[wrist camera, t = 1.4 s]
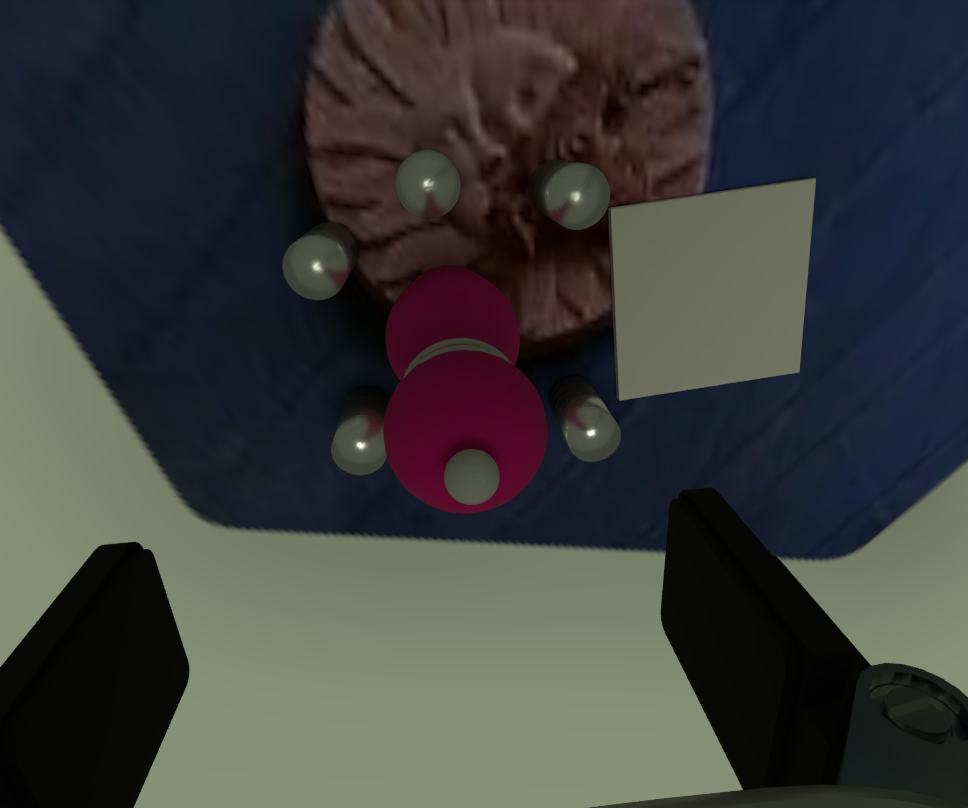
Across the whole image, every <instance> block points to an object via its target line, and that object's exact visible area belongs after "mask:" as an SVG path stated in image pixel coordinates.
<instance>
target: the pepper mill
mask: <svg viewBox="0 0 968 808" xmlns="http://www.w3.org/2000/svg"><path fill="white" fill-rule="evenodd" d="M519 345H520V337H519V328H518V323H517V319H516V315H515V313H514V310H513V308H512V306H511V304H510V303H509V301H508V299H507V298H506V297H505V295H504V294H503V293H502V292H501V291H500V290H499V289H498V288H497V287H496V286H494V285H493V284H492V283H490V282H489V281H487V280H486V279H484V278H482V277H481V276H480V275H478V274H477V273H475V272H473V271H470V270H468V269H465V268H461V267H456V266H443V267H439V268H434V269H431V270H429V271H427V272H425V273H423V274H421V275H420V276H418V277H417V278H416V279H415V280H414V281H413V282H412V283H411V284H410V285H409V286H408V288H407V289H406V290H405V291H404V292H403V293H402V294H401V295H400V296H399V298H398V299H397V301H396V302H395V303H394V305H393V306H392V309H391V312H390V314H389V317H388V320H387V325H386V348H387V355H388V359H389V362H390V364H391V367H392V369H393V371H394V372H395V374H396V376H397V377H398V378H399V380H400V382H399V383H398V385H397V387H396V389H395V391H394V393H393V395H392V397H391V399H390V401H389V403H388V406H387V409H386V413H385V417H384V426H383V437H384V444H385V451H386V455H387V458H388V461H389V464H390V466H391V468H392V470H393V471H394V473H395V475H396V477H397V478H398V479H399V480H400V481H401V483H402V484H403V485H404V486H405V488H406V489H407V490H408V491H409V492H410V493H412V494H413V495H414V496H415V497H416V498H418V499H419V500H421V501H423V502H425V503H426V504H428V505H430V506H433V507H435V508H438V509H441V510H444V511H448V512H454V513H461V514H463V513H476V512H481V511H485V510H489V509H492V508H494V507H497V506H500V505H502V504H504V503H506V502H507V501H509V500H511V499H512V498H513V497H515V496H516V495H517V494H518V493H519V492H520V491H522V490H523V489H524V488H525V487H526V486H527V485H528V483H529V482H530V481H531V480H532V479H533V477H534V475H535V474H536V472H537V470H538V469H539V467H540V465H541V462H542V460H543V456H544V452H545V448H546V444H547V423H546V417H545V410H544V407H543V404H542V401H541V398H540V396H539V395H538V393H537V391H536V389H535V387H534V386H533V385H532V383H531V382H530V381H529V379H528V378H527V377H526V376H525V375H524V374H523V373H522V372H521V371H520V370H519V369H518V368H516V367H515V366H514V365H515V363H516V360H517V357H518V353H519Z"/></svg>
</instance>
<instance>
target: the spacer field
mask: <svg viewBox="0 0 968 808" xmlns="http://www.w3.org/2000/svg"><path fill="white" fill-rule="evenodd" d="M395 186H396V192H397V196H398V198H399V200H400V202H401V204H402V205H403V206H404V208H405V209H406V210H407V211H409V212H410V213H411V214H413V215H415V216H417V217H420V218H424V219H434V218H438V217H441V216H443V215H445V214H446V213H448V212H449V211H450V210H451V209H452V208H453V207H454V205H455V204H456V202H457V200H458V198H459V194H460V187H461V184H460V177H459V174H458V171H457V169H456V167H455V166H454V164H453V163H452V162H451V161H450V160H449V159H448V158H447V157H446V156H445V155H443V154H442V153H440V152H438V151H436V150H433V149H421V150H418V151H415V152H413V153H412V154H411V155H409V156H408V157H407V158H406V159H405V160H404V161H403V163H402V164H401V165H400V167H399V169H398V172H397V175H396V185H395ZM528 192H529V197H530V200H531V202H532V204H533V206H534V207H535V208H536V209H537V210H538V211H540V212H541V213H543V214H544V215H546V216H547V217H549V218H551V219H552V220H554V221H555V222H557V223H559V224H560V225H562V226H564V227H566V228H569V229H573V230H580V229H585V228H588V227H590V226H592V225H594V224H595V223H597V222H598V221H599V220H600V219H601V218H602V216H603V215H604V214H605V212H606V210H607V207H608V205H609V200H610V188H609V184H608V181H607V179H606V177H605V176H604V174H603V173H602V172H601V171H600V170H599V169H597V168H596V167H594V166H592V165H589V164H584V163H577V162H570V161H563V160H550V161H547V162H545V163H543V164H541V165H540V166H539V167H538V168H537V169H536V170H535V171H534V172H533V174H532V176H531V178H530V181H529V187H528ZM358 256H359V245H358V241H357V239H356V237H355V235H354V234H353V232H352V231H351V230H350V229H349V228H347V227H346V226H344V225H342V224H340V223H337V222H323V223H320V224H318V225H316V226H315V227H314V228H312V229H311V230H310V231H309V232H307V233H306V234H305V235H303V236H302V237H301V238H299V239H298V240H297V241H296V242H294V243H293V244H292V245H291V246H290V247H289V248H288V250H287V251H286V253H285V255H284V259H283V273H284V276H285V279H286V281H287V283H288V284H289V286H290V287H291V288H292V289H293V290H294V291H295V292H296V293H298V294H299V295H301V296H303V297H305V298H308V299H313V300H323V299H327V298H330V297H332V296H334V295H335V294H336V293H337V292H338V291H339V290H340V289H341V288H342V286H343V285H344V283H345V281H346V279H347V278H348V276H349V274H350V272H351V271H352V269H353V267H354V265H355V264H356V262H357V260H358ZM548 399H549V405H550V407H551V409H552V412H553V414H554V416H555V418H556V420H557V422H558V424H559V427H560V429H561V431H562V433H563V435H564V437H565V439H566V441H567V444H568V446H569V448H570V450H571V452H572V453H573V454H574V455H575V456H576V457H577V458H579V459H581V460H583V461H588V462H594V461H600V460H603V459H605V458H607V457H608V456H610V455H611V454H612V453H613V452H614V451H615V450H616V448H617V447H618V445H619V442H620V438H621V432H620V428H619V426H618V424H617V423H616V421H615V420H614V418H613V417H612V415H611V414H610V412H609V411H608V409H607V408H606V406H605V405H604V403H603V402H602V400H601V399H600V397H599V396H598V395H597V393H596V392H595V390H594V389H593V387H592V386H591V384H590V383H589V382H588V381H587V380H586V379H584V378H582V377H580V376H567V377H564V378H562V379H560V380H558V381H557V382H556V383H555V384H554V385H553V386H552V388H551V390H550V392H549V398H548ZM389 401H390V397H389V395H388V394H387V393H386V392H385V391H384V390H382V389H380V388H378V387H376V386H371V385H364V386H360V387H357V388H355V389H354V390H352V391H351V392H350V393H349V395H348V396H347V398H346V401H345V404H344V407H343V411H342V414H341V417H340V420H339V424H338V427H337V430H336V433H335V436H334V440H333V443H332V448H331V453H332V457H333V459H334V461H335V463H336V464H337V465H338V466H339V467H340V468H341V469H342V470H344V471H346V472H348V473H350V474H354V475H366V474H370V473H372V472H375V471H376V470H378V469H379V468H380V467H381V466H382V465H383V463H384V462H385V460H386V456H387V455H386V451H385V444H384V437H383V426H384V417H385V413H386V409H387V406H388V403H389Z"/></svg>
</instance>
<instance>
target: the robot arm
mask: <svg viewBox="0 0 968 808" xmlns="http://www.w3.org/2000/svg"><path fill="white" fill-rule="evenodd" d="M661 621H662V625H663V629H664V631H665V634H666V636H667V638H668V640H669V642H670V644H671V646H672V648H673V650H674V652H675V654H676V656H677V658H678V660H679V662H680V664H681V666H682V668H683V670H684V672H685V674H686V676H687V678H688V680H689V682H690V684H691V686H692V688H693V690H694V692H695V694H696V696H697V698H698V700H699V702H700V704H701V706H702V708H703V710H704V712H705V714H706V716H707V718H708V720H709V722H710V724H711V726H712V728H713V730H714V732H715V734H716V736H717V738H718V740H719V742H720V744H721V746H722V748H723V750H724V752H725V754H726V756H727V758H728V760H729V762H730V764H731V766H732V768H733V770H734V772H735V774H736V776H737V778H738V780H739V782H740V784H741V786H742V788H743V790H740V791H731V792H720V793H711V794H701V795H692V796H682V797H673V798H664V799H655V800H647V801H639V802H631V803H623V804H615V805H606V806H598V807H590V808H968V697H967V696H966V695H964V694H963V693H962V692H961V691H960V690H959V689H958V688H956V687H955V686H953V685H951V684H950V683H948V682H947V681H945V680H944V679H942V678H940V677H938V676H935V675H933V674H931V673H929V672H926V671H924V670H922V669H919V668H915V667H911V666H907V665H904V664H892V663H883V664H878V665H873V666H871V665H870V664H869V663H868V661H867V660H866V659H865V658H864V657H863V656H862V655H861V654H860V652H859V651H858V650H857V649H856V648H855V646H854V645H853V644H852V643H851V642H850V641H849V639H848V638H847V637H846V636H845V635H844V634H843V633H842V632H841V630H840V629H839V628H838V627H837V626H836V624H835V623H834V622H833V621H832V620H831V619H830V618H829V616H828V615H827V614H826V613H825V612H824V611H823V609H822V608H821V607H820V606H819V605H818V604H817V602H816V601H815V600H814V599H813V598H812V597H811V596H810V594H809V593H808V592H807V591H806V590H805V588H804V587H803V586H802V585H801V584H800V583H799V582H798V581H797V579H796V578H795V577H794V576H793V575H792V573H790V571H789V570H788V569H787V568H786V566H785V565H784V564H783V563H782V562H781V561H780V560H779V559H778V558H777V557H776V556H774V555H771V553H770V552H769V551H768V550H767V549H766V548H765V546H764V545H763V544H762V543H761V542H760V541H759V539H758V538H757V537H756V536H755V535H754V534H753V532H752V531H751V530H750V529H749V528H748V527H747V525H746V524H745V523H744V522H743V521H742V519H741V518H740V517H739V516H738V515H737V514H736V512H735V511H734V510H733V509H732V508H731V507H730V505H729V504H728V503H727V502H726V501H725V500H724V498H723V497H722V496H721V495H720V494H719V493H718V491H717V490H715V489H714V488H701V489H691V490H683V491H681V492H680V494H679V498H678V499H673V500H671V502H670V508H669V520H668V532H667V543H666V555H665V567H664V580H663V591H662V602H661ZM188 678H189V663H188V659H187V656H186V653H185V650H184V647H183V644H182V641H181V638H180V634H179V631H178V628H177V625H176V622H175V619H174V616H173V613H172V610H171V607H170V604H169V601H168V598H167V594H166V591H165V588H164V585H163V582H162V579H161V576H160V573H159V570H158V567H157V564H156V560H155V557H154V555H153V553H152V552H151V550H149V549H143V547H142V546H141V545H140V544H139V543H137V542H128V543H118V544H108V545H101V546H99V547H98V548H97V549H96V550H95V551H94V552H93V553H92V554H91V556H90V557H89V558H88V559H87V561H86V562H85V563H84V564H83V566H82V567H81V568H80V569H79V571H78V572H77V573H76V574H75V575H74V577H73V578H72V579H71V580H70V582H69V583H68V584H67V585H66V587H65V588H64V589H63V590H62V592H61V593H60V594H59V595H58V597H57V598H56V599H55V600H54V602H53V603H52V604H51V605H50V607H49V608H48V609H47V610H46V612H45V613H44V614H43V615H42V616H41V618H40V619H39V620H38V621H37V622H36V624H35V625H34V626H33V628H32V629H31V630H30V631H29V632H28V634H27V635H26V636H25V637H24V639H23V640H22V641H21V642H20V644H19V645H18V646H17V647H16V648H15V650H14V651H13V652H12V653H11V655H10V656H9V657H8V658H7V660H6V661H5V662H4V663H3V665H2V666H1V667H0V808H133V807H134V805H135V803H136V801H137V798H138V796H139V794H140V792H141V789H142V787H143V785H144V782H145V780H146V778H147V776H148V773H149V771H150V768H151V766H152V764H153V762H154V759H155V757H156V755H157V753H158V750H159V748H160V746H161V743H162V741H163V739H164V737H165V734H166V732H167V729H168V727H169V725H170V723H171V720H172V718H173V716H174V714H175V711H176V709H177V707H178V704H179V702H180V700H181V697H182V695H183V693H184V690H185V688H186V686H187V683H188Z"/></svg>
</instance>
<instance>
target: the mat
mask: <svg viewBox="0 0 968 808" xmlns="http://www.w3.org/2000/svg"><path fill="white" fill-rule="evenodd" d="M815 184H816V179H815V178H807V179H800V180H793V181H786V182H780V183H773V184H766V185H760V186H753V187H746V188H739V189H733V190H726V191H719V192H712V193H706V194H699V195H692V196H685V197H679V198H672V199H665V200H658V201H652V202H645V203H638V204H631V205H625V206H618V207H611V208H608V221H609V243H610V265H611V287H612V308H613V330H614V352H615V374H616V395H617V398H618V400H626V399H632V398H639V397H645V396H651V395H658V394H664V393H670V392H677V391H683V390H689V389H696V388H702V387H708V386H715V385H721V384H727V383H734V382H740V381H747V380H753V379H759V378H766V377H772V376H778V375H785V374H791V373H797V372H799V369H800V357H801V346H802V334H803V323H804V311H805V300H806V288H807V277H808V265H809V253H810V242H811V230H812V219H813V207H814V196H815Z"/></svg>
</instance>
